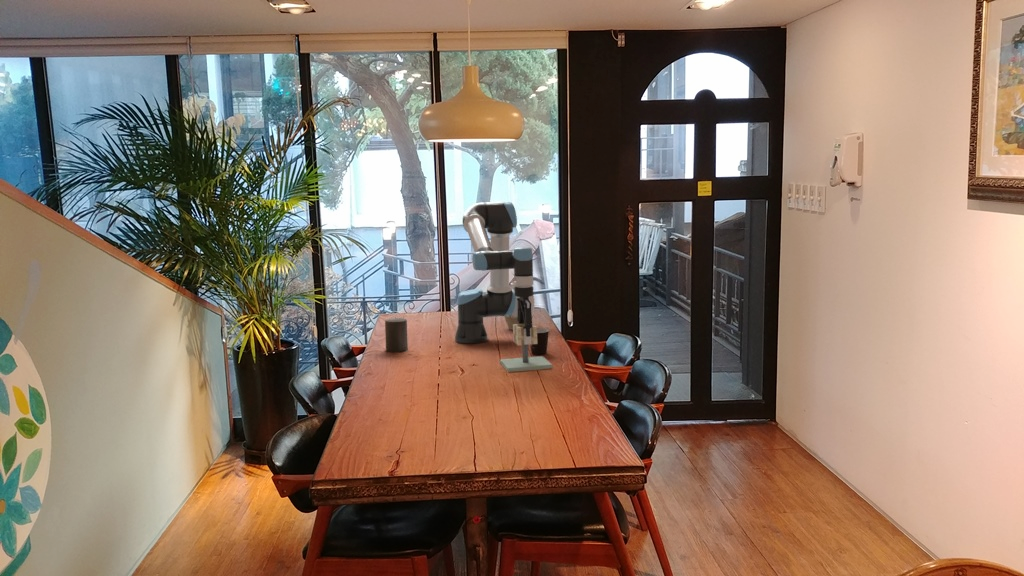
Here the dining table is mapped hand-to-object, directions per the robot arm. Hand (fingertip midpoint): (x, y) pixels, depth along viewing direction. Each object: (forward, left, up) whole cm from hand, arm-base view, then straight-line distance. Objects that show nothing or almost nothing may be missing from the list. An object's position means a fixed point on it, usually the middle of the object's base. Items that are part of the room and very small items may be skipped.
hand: (525, 341), depth 324 cm
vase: (-72, +14, -10) cm, 74 cm away
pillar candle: (-46, -48, -10) cm, 67 cm away
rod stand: (0, 0, -10) cm, 10 cm away
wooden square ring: (0, 0, 0) cm, 0 cm away
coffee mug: (-20, +11, -10) cm, 25 cm away
